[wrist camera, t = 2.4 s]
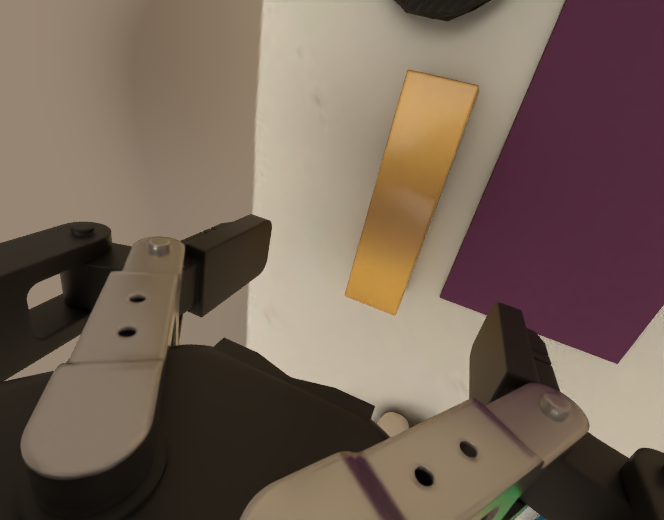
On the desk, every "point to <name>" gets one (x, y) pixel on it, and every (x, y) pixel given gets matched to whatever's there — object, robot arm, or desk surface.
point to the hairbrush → (440, 7)
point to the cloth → (579, 187)
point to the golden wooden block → (409, 186)
